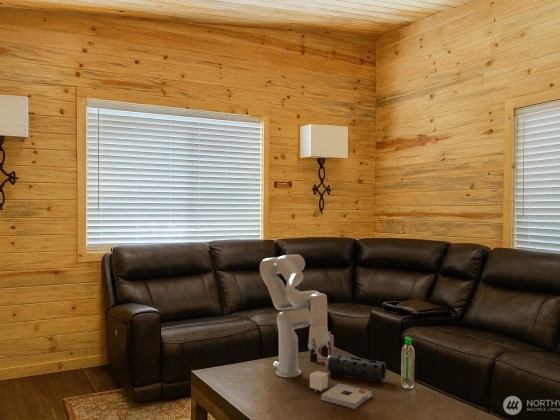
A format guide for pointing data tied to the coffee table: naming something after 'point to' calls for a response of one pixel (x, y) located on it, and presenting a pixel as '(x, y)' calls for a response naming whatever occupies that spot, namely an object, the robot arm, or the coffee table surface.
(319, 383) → the plug
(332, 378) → the coffee table surface
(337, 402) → the socket
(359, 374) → the muzzle brake
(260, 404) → the coffee table surface
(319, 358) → the greeting card
